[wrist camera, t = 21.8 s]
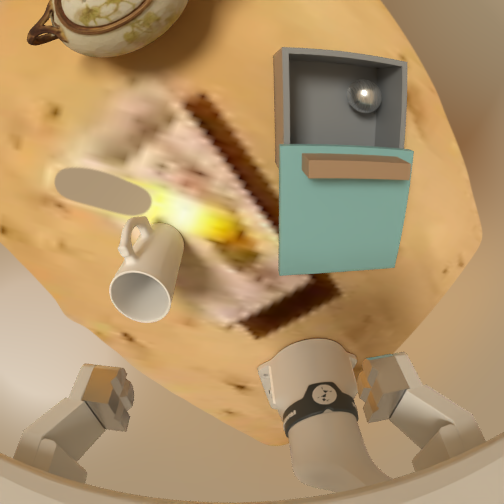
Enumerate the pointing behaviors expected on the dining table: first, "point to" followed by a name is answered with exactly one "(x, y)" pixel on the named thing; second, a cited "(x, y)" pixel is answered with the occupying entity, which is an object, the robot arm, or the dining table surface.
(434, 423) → the robot arm
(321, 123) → the bin
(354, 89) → the steel ball
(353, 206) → the lid
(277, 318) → the dining table surface
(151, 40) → the sugar bowl
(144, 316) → the mug
